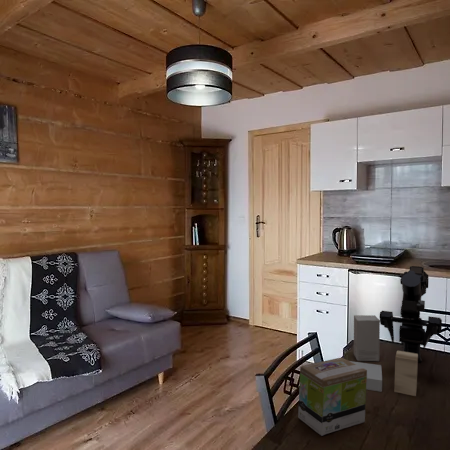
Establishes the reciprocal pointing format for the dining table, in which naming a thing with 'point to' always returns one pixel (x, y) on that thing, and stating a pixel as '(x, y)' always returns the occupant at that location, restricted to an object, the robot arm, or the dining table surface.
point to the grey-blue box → (372, 376)
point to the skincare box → (366, 337)
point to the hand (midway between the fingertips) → (408, 344)
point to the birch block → (406, 373)
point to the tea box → (332, 395)
